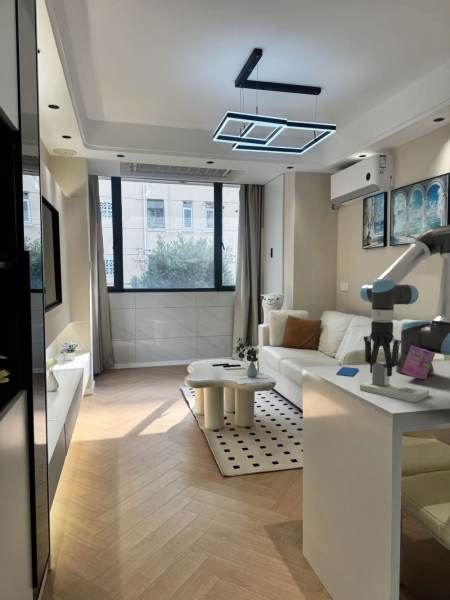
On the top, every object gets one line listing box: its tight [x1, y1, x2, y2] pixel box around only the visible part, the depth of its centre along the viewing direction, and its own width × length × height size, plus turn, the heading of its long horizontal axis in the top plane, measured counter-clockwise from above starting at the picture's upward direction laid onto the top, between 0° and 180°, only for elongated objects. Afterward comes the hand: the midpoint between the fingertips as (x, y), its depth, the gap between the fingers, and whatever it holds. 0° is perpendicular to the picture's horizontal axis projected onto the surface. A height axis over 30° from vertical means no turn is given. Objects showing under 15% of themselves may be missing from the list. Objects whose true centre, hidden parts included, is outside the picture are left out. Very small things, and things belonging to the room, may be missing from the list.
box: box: [402, 345, 436, 380], centre depth 160 cm, size 10×6×12 cm, turn 128°
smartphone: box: [335, 366, 359, 377], centre depth 174 cm, size 7×1×15 cm
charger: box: [373, 361, 386, 386], centre depth 146 cm, size 4×4×8 cm
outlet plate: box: [359, 380, 430, 403], centre depth 142 cm, size 12×20×2 cm, turn 42°
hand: (380, 383), depth 146 cm, fingers closed on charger, 4 cm apart
